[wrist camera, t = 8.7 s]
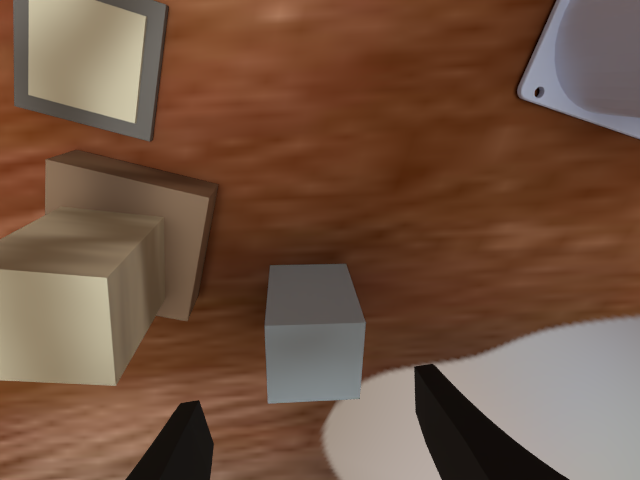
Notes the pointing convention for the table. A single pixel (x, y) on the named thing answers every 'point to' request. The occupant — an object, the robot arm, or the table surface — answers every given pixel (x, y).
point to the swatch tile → (91, 61)
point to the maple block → (78, 295)
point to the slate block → (313, 334)
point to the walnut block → (143, 212)
